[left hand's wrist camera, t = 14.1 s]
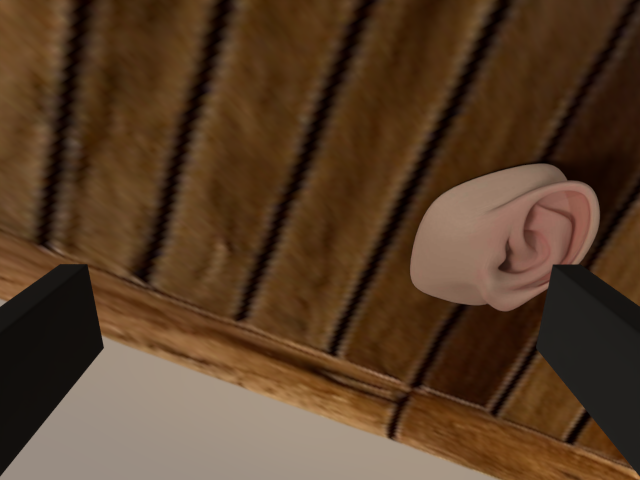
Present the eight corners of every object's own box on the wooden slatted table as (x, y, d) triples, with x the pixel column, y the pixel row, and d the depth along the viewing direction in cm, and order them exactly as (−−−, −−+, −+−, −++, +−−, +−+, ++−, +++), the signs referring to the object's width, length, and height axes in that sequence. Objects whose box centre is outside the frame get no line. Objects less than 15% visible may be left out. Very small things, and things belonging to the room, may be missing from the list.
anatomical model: (423, 338, 34) (413, 194, 30) (413, 312, 38) (402, 181, 34) (598, 316, 33) (612, 167, 29) (570, 292, 37) (579, 157, 33)
